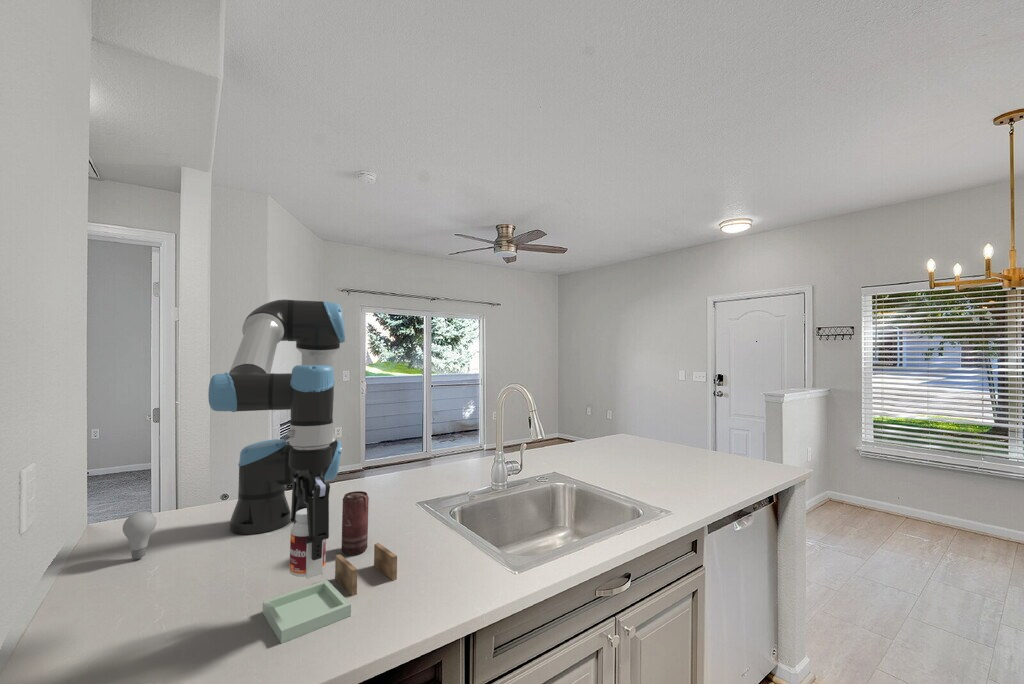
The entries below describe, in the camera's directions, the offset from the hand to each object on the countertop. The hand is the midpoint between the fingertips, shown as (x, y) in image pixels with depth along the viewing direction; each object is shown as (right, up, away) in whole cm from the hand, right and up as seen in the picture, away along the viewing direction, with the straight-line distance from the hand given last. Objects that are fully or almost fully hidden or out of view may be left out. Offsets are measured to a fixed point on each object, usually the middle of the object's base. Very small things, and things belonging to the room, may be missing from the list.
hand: (307, 568), depth 83 cm
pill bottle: (0, 0, 0) cm, 0 cm away
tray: (0, -9, 0) cm, 9 cm away
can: (-1, -10, +27) cm, 28 cm away
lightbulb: (-50, -9, +21) cm, 54 cm away
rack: (+7, -9, +13) cm, 17 cm away
